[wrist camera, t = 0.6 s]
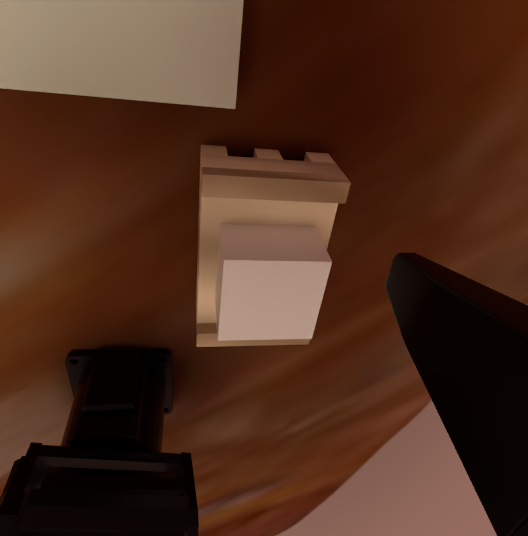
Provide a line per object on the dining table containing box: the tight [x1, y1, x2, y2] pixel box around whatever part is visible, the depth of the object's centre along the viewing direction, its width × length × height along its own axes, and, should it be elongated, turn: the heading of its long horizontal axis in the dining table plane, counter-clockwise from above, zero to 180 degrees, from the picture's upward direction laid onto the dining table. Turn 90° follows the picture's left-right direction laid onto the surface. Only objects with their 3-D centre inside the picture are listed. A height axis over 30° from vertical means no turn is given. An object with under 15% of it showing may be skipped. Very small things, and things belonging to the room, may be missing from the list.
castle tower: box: [196, 145, 351, 347], centre depth 21 cm, size 10×6×4 cm, turn 173°
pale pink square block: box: [215, 224, 332, 341], centre depth 19 cm, size 5×5×3 cm
